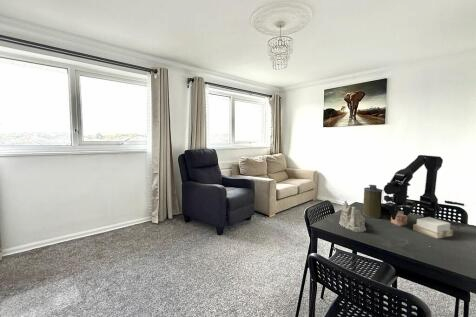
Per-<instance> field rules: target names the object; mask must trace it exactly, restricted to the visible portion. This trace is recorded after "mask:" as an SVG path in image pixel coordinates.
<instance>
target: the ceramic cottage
mask: <svg viewBox="0 0 476 317" xmlns="http://www.w3.org/2000/svg"><path fill="white" fill-rule="evenodd" d="M343 202H344V203H343V204H342V206H341V209H340V211H341V214H340V217H339V218H340V219H339V222H338V225H339V224H340V225H341V226H340V225H339V226H340V227H342V226H343V227H342V228H344V227H345V229H347V230H349V229H350V230H349V231H351V230H352V232H354V233H355V232H356V233H363V232H366V231H367V228H366V226H365V225H366V222H365V221H366V218H365V216H364V215H363V214H362V213H361V210H360V209H356V207H355V206H351V205H350V204H349V203H348V202H347V200H343Z"/></svg>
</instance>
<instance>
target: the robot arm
mask: <svg viewBox="0 0 476 317" xmlns="http://www.w3.org/2000/svg"><path fill="white" fill-rule="evenodd" d="M443 161H444V160H443V158H442V157H441V156H438V155H425V154H419V155H418V156H417V157H416V158H415V159H414V160H413V161H412V162H410V163H409V164H408V165H407V166H406V167H405V168H401V169H399V170H397V171H396V172H395V173H394V175H393V176H392V178H391V179H390V181H389V182H387V183H386V184H385V185H384V186H383V193H385V194H386V195H383V200H384V201H385V203H384V207H385V208H386V209H388V210H389V211H390V213H391V216H390V218H391V217H392V219H393V220H395V218H396V216H397V213H399V209H400V207H402V208H403V210H402V211H403V213H402V214H403V215H406V216H407V217H409V215H410V213H411V212H412V211H413V210H414V209H415V208H416V207H417V203H416V201H412V200H408V199H409V198H410V196H409V195H408V187H409V186H411V184H410V181H411V180H412V179H413V178H414V174H415V173H416V172H417V171H418V170H419V169H420V168H422V167H423V165H424V168H425V169H426V176H425V185H424V193H423V194H422V195H420V196H419V200H418V201H419V206H420V208H421V209H423V216H421V217H420V218H426V217H431V218H435V219H437V213H440V212H441V211H442V207H441V206H440V204H439V199H438V197H437V196H436V189H437V178H438V171H439V170H440V169H441V168H442V167H443V165H442V164H443ZM390 195H391V196H390ZM397 209H398V210H397Z"/></svg>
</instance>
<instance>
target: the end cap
mask: <svg viewBox="0 0 476 317" xmlns="http://www.w3.org/2000/svg"><path fill="white" fill-rule="evenodd" d="M384 204H385V203H384V202H383V204H382V202H381V213H380V216H386V217H391V213H390V211H389V210H388V209H386V208H385V207H384ZM397 210H398V211H399V208H398V209H397Z"/></svg>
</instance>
